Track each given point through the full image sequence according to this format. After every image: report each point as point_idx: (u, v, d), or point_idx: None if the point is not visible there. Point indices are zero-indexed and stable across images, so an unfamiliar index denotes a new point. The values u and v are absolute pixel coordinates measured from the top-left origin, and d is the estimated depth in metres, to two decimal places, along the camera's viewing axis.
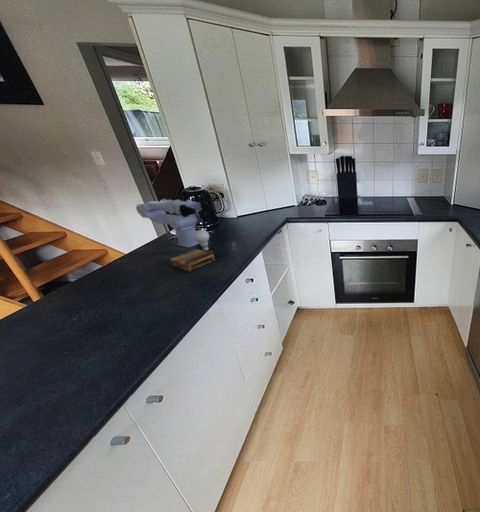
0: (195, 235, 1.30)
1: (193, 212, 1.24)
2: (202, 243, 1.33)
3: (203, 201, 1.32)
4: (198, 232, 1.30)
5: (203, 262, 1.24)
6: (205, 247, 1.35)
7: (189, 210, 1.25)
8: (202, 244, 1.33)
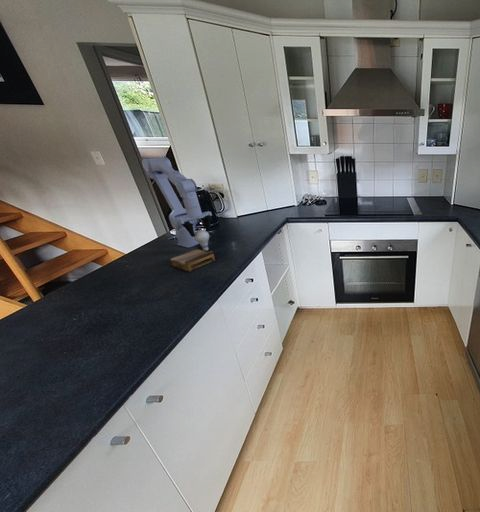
0: (195, 235, 1.30)
1: (191, 234, 1.29)
2: (202, 243, 1.33)
3: (209, 220, 1.33)
4: (198, 232, 1.30)
5: (203, 262, 1.24)
6: (205, 247, 1.35)
7: None
8: (202, 244, 1.33)
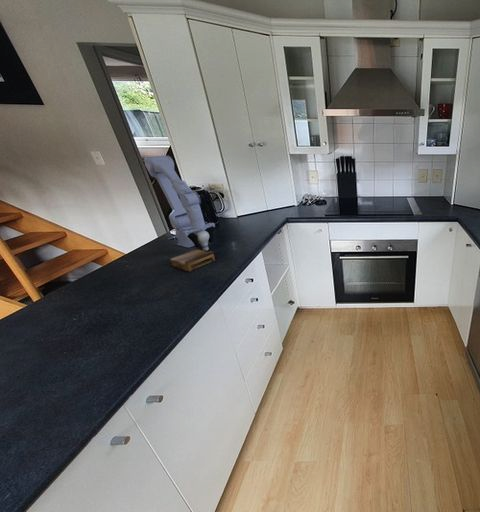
0: None
1: (195, 245, 1.32)
2: (202, 243, 1.33)
3: (212, 232, 1.35)
4: (198, 232, 1.30)
5: (203, 262, 1.24)
6: (205, 247, 1.35)
7: (195, 241, 1.30)
8: (202, 244, 1.33)
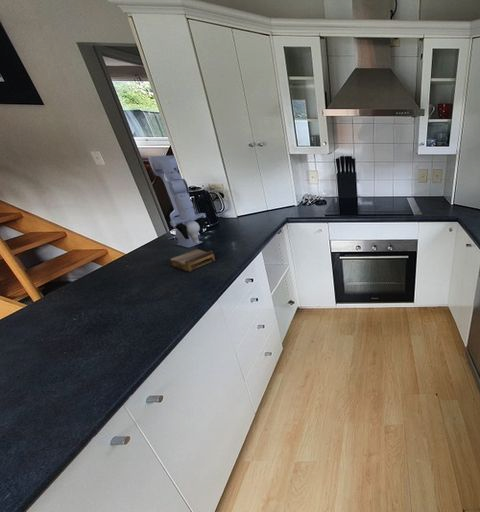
0: None
1: (184, 237, 1.23)
2: (192, 234, 1.24)
3: (202, 222, 1.26)
4: (187, 222, 1.21)
5: (203, 262, 1.24)
6: (195, 239, 1.26)
7: (184, 232, 1.21)
8: (192, 236, 1.24)
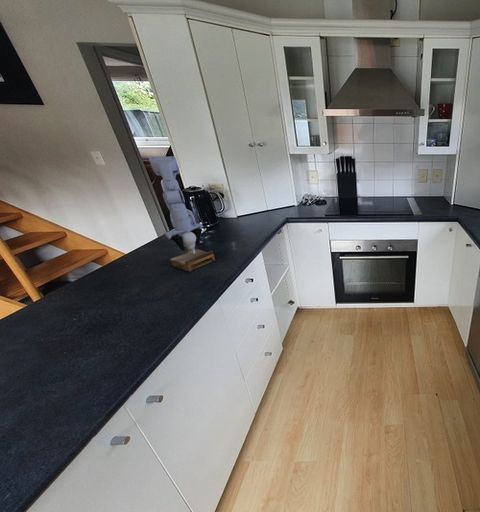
0: None
1: (180, 248, 1.19)
2: (188, 246, 1.20)
3: (199, 233, 1.22)
4: (183, 234, 1.18)
5: (203, 262, 1.24)
6: (191, 250, 1.22)
7: (179, 244, 1.18)
8: (188, 247, 1.21)
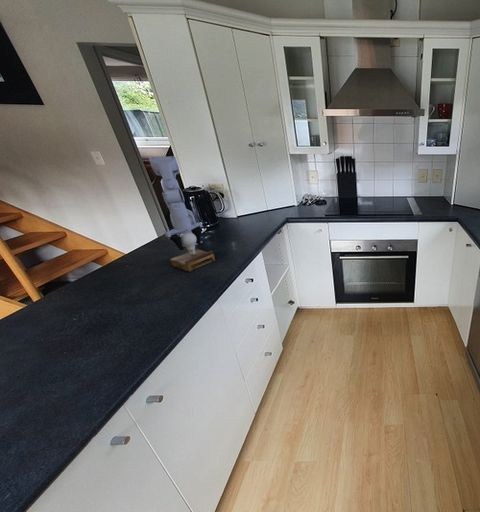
0: None
1: (179, 248, 1.19)
2: (188, 247, 1.20)
3: (199, 232, 1.23)
4: (184, 235, 1.18)
5: (203, 262, 1.24)
6: (192, 251, 1.22)
7: (178, 243, 1.17)
8: (188, 248, 1.21)
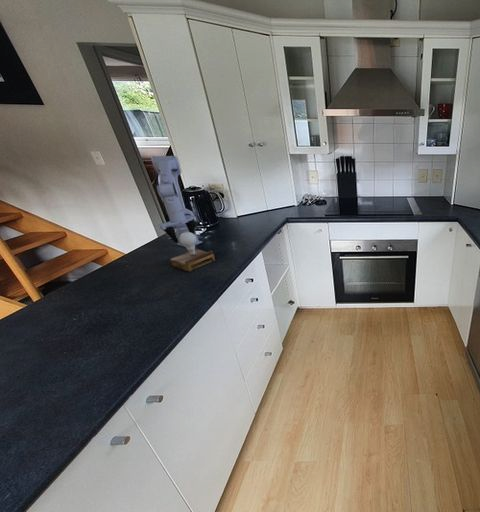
0: (180, 238, 1.18)
1: (173, 240, 1.23)
2: (188, 247, 1.20)
3: (194, 225, 1.26)
4: (184, 235, 1.18)
5: (203, 262, 1.24)
6: (192, 251, 1.22)
7: (172, 236, 1.21)
8: (188, 248, 1.21)
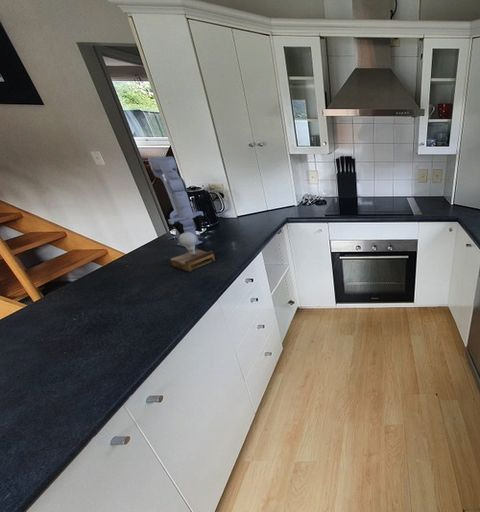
0: (180, 238, 1.18)
1: None
2: (188, 247, 1.20)
3: (201, 220, 1.29)
4: (184, 235, 1.18)
5: (203, 262, 1.24)
6: (192, 251, 1.22)
7: None
8: (188, 248, 1.21)
